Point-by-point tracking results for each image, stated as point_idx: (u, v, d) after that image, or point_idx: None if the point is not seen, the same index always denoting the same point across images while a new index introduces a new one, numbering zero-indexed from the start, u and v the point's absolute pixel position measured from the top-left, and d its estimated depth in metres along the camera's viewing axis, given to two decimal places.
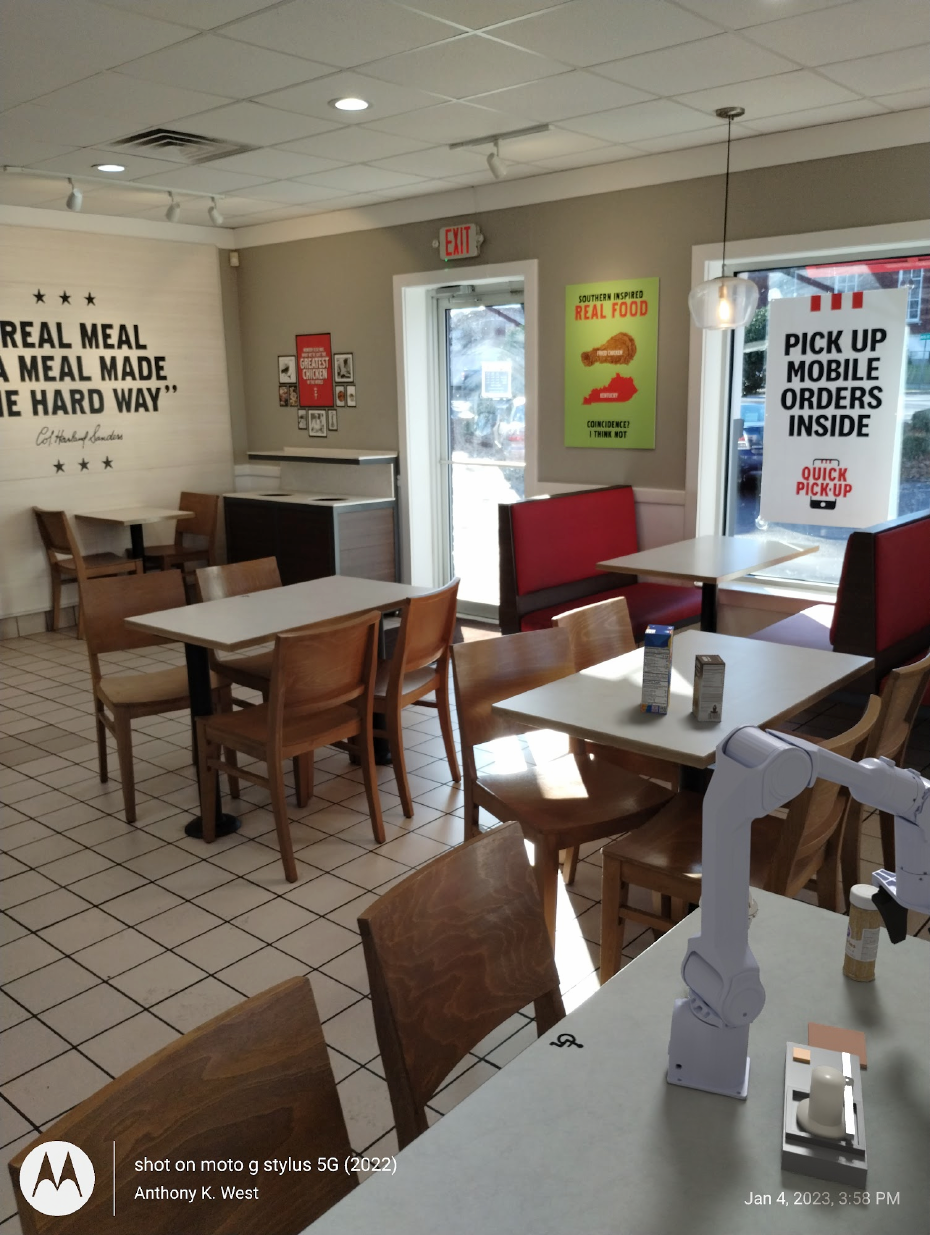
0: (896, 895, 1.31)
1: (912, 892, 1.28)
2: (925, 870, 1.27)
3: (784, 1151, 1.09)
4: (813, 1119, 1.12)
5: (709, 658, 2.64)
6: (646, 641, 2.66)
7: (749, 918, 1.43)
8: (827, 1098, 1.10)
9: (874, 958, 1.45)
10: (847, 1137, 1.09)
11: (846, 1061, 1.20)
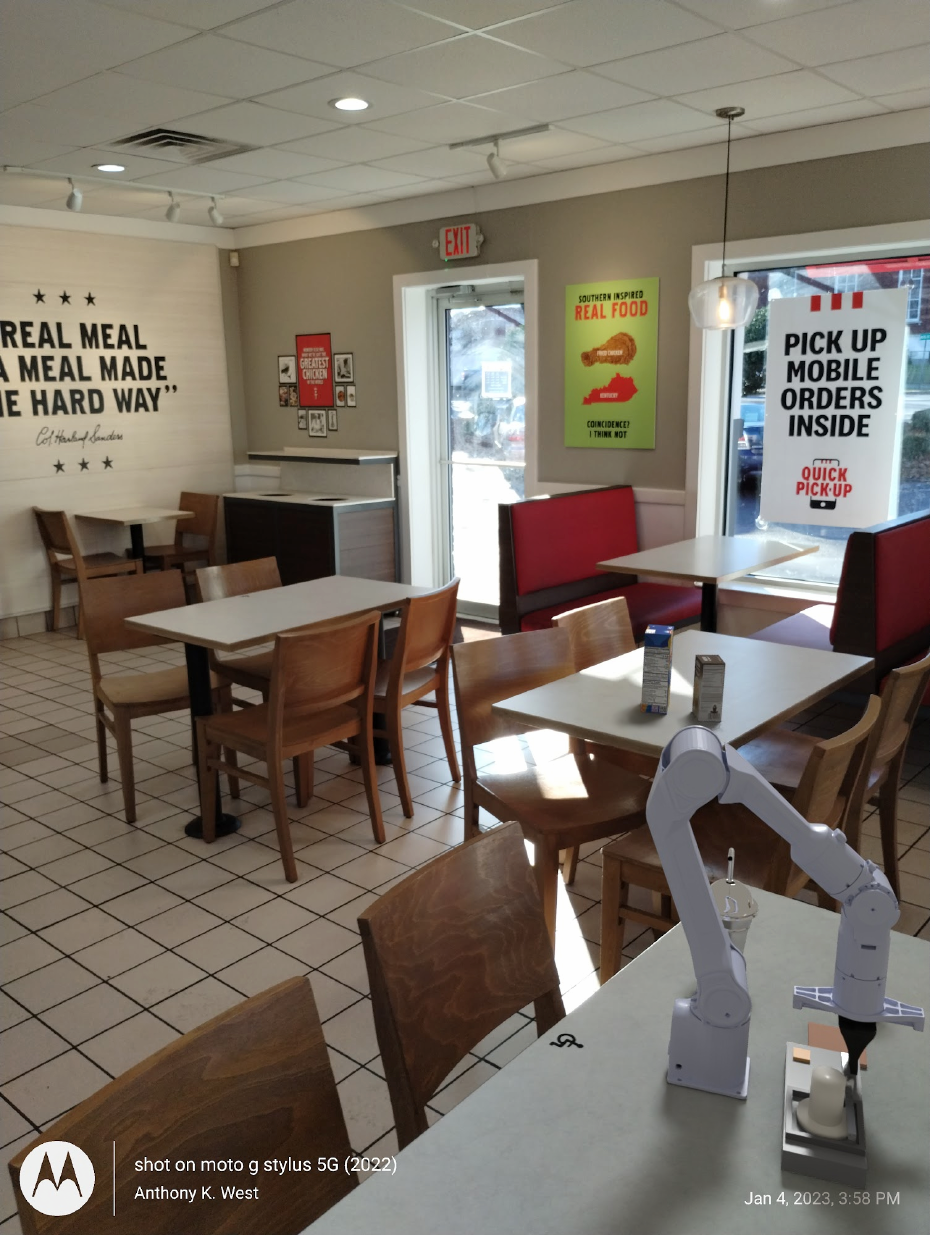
0: (845, 1011, 1.17)
1: (871, 1002, 1.16)
2: (852, 972, 1.16)
3: (784, 1151, 1.09)
4: (813, 1119, 1.12)
5: (709, 658, 2.64)
6: (646, 641, 2.66)
7: (749, 918, 1.43)
8: (828, 1099, 1.10)
9: None
10: (849, 1137, 1.09)
11: (845, 1061, 1.20)
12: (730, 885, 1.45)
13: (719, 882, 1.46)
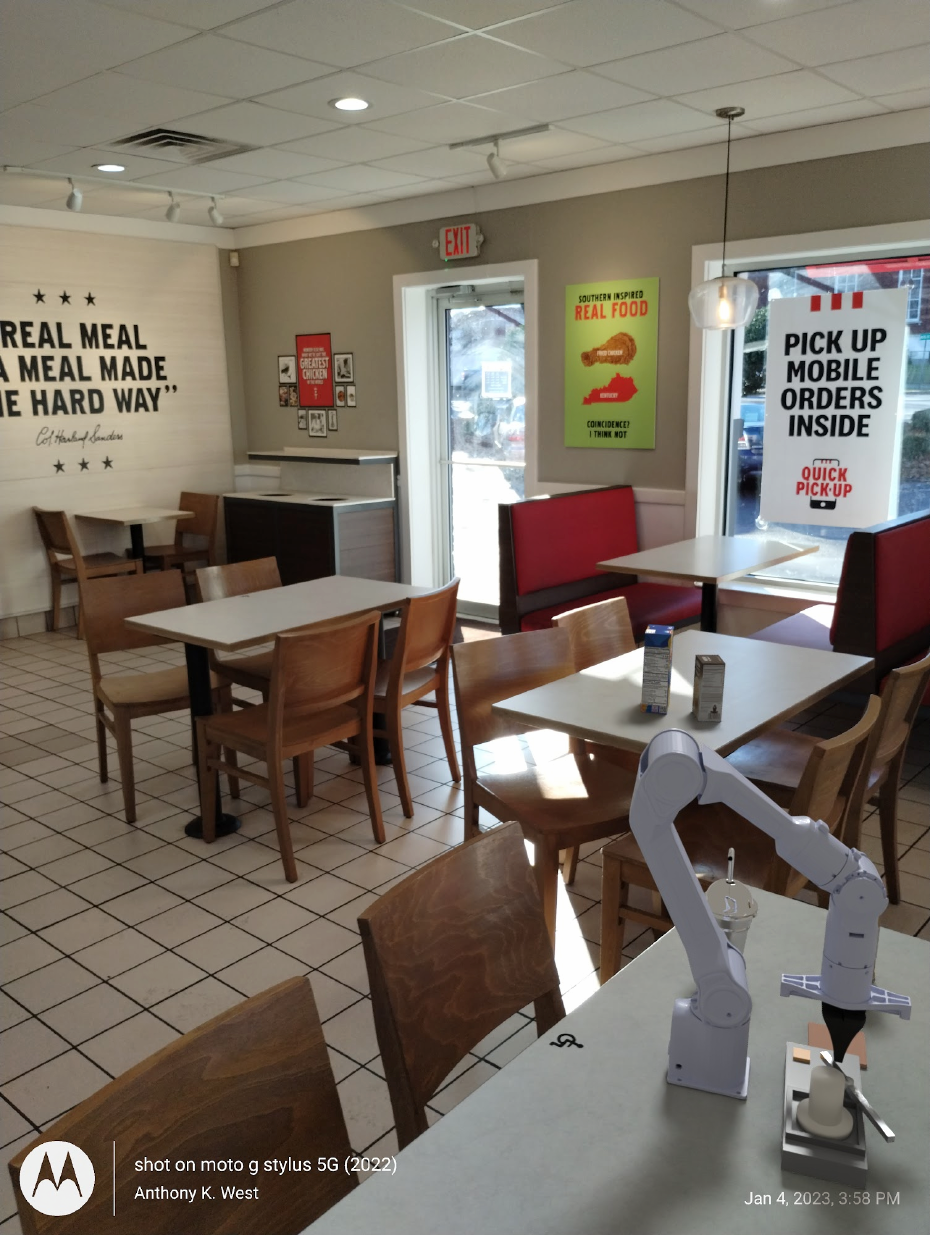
0: (832, 998, 1.18)
1: (858, 990, 1.16)
2: (840, 960, 1.16)
3: (784, 1151, 1.09)
4: (813, 1119, 1.12)
5: (709, 658, 2.64)
6: (646, 641, 2.66)
7: (749, 918, 1.43)
8: (827, 1098, 1.10)
9: None
10: (888, 1141, 1.08)
11: (830, 1060, 1.21)
12: (730, 885, 1.45)
13: (719, 882, 1.46)
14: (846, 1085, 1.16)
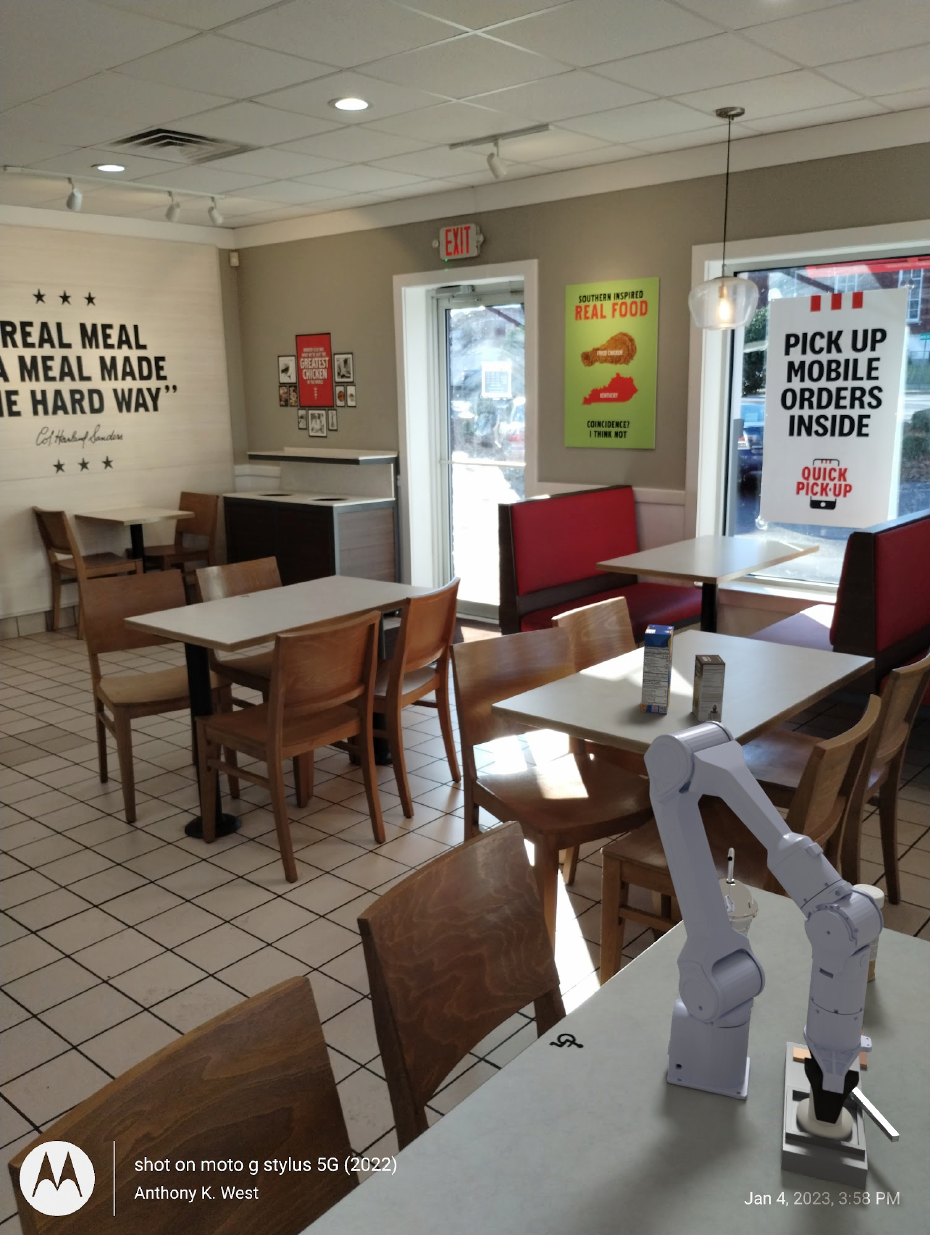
0: None
1: (809, 1023, 1.10)
2: (813, 996, 1.09)
3: (784, 1151, 1.09)
4: (814, 1120, 1.12)
5: (709, 658, 2.64)
6: (646, 641, 2.66)
7: (749, 918, 1.43)
8: None
9: (874, 958, 1.45)
10: (893, 1140, 1.08)
11: None
12: (730, 885, 1.45)
13: (719, 882, 1.46)
14: None
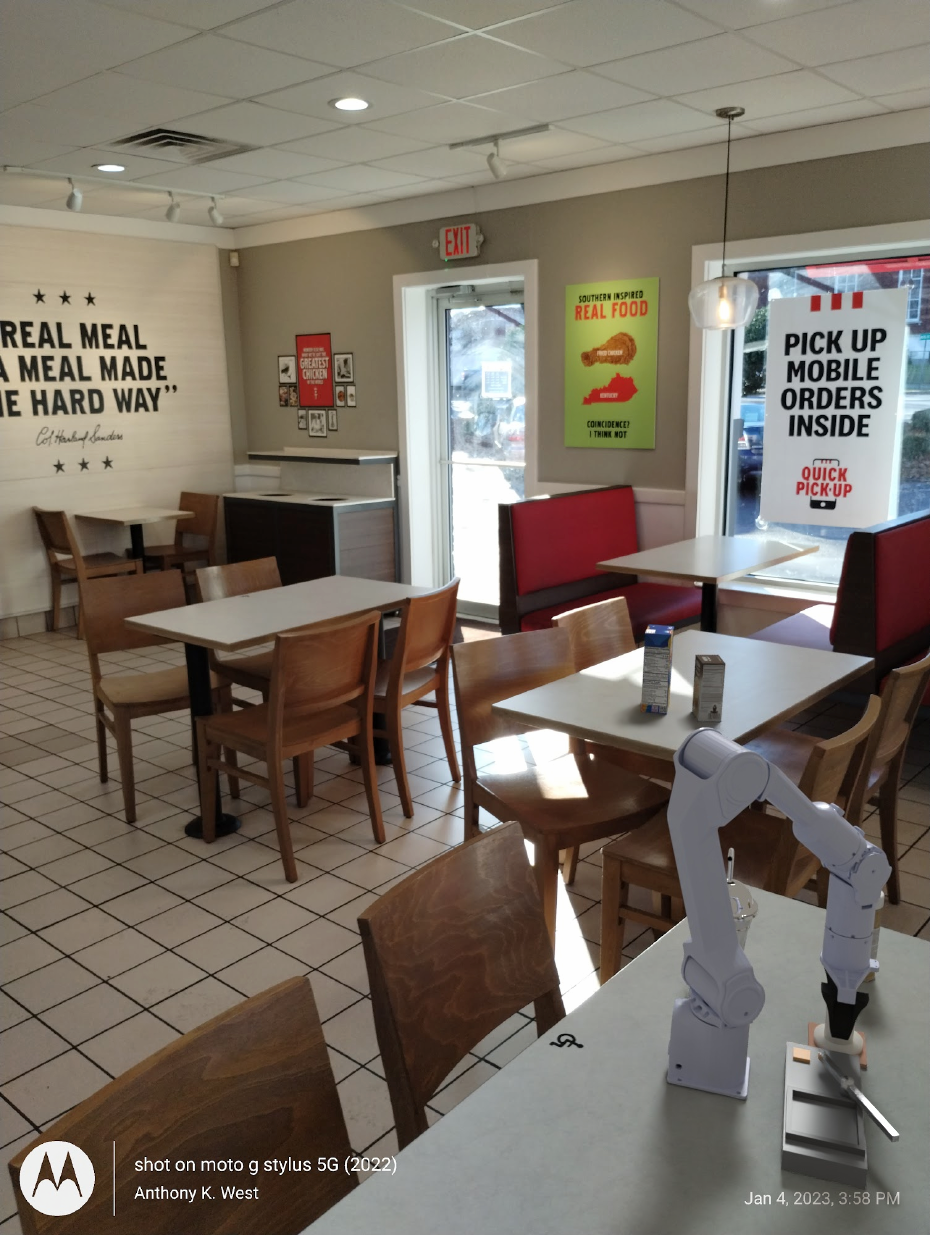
0: None
1: (825, 947, 1.27)
2: (853, 933, 1.24)
3: (784, 1151, 1.09)
4: (829, 1040, 1.29)
5: (709, 658, 2.64)
6: (646, 641, 2.66)
7: (749, 918, 1.43)
8: None
9: (874, 958, 1.45)
10: (893, 1140, 1.08)
11: (829, 1060, 1.21)
12: (730, 885, 1.45)
13: None
14: (846, 1085, 1.16)
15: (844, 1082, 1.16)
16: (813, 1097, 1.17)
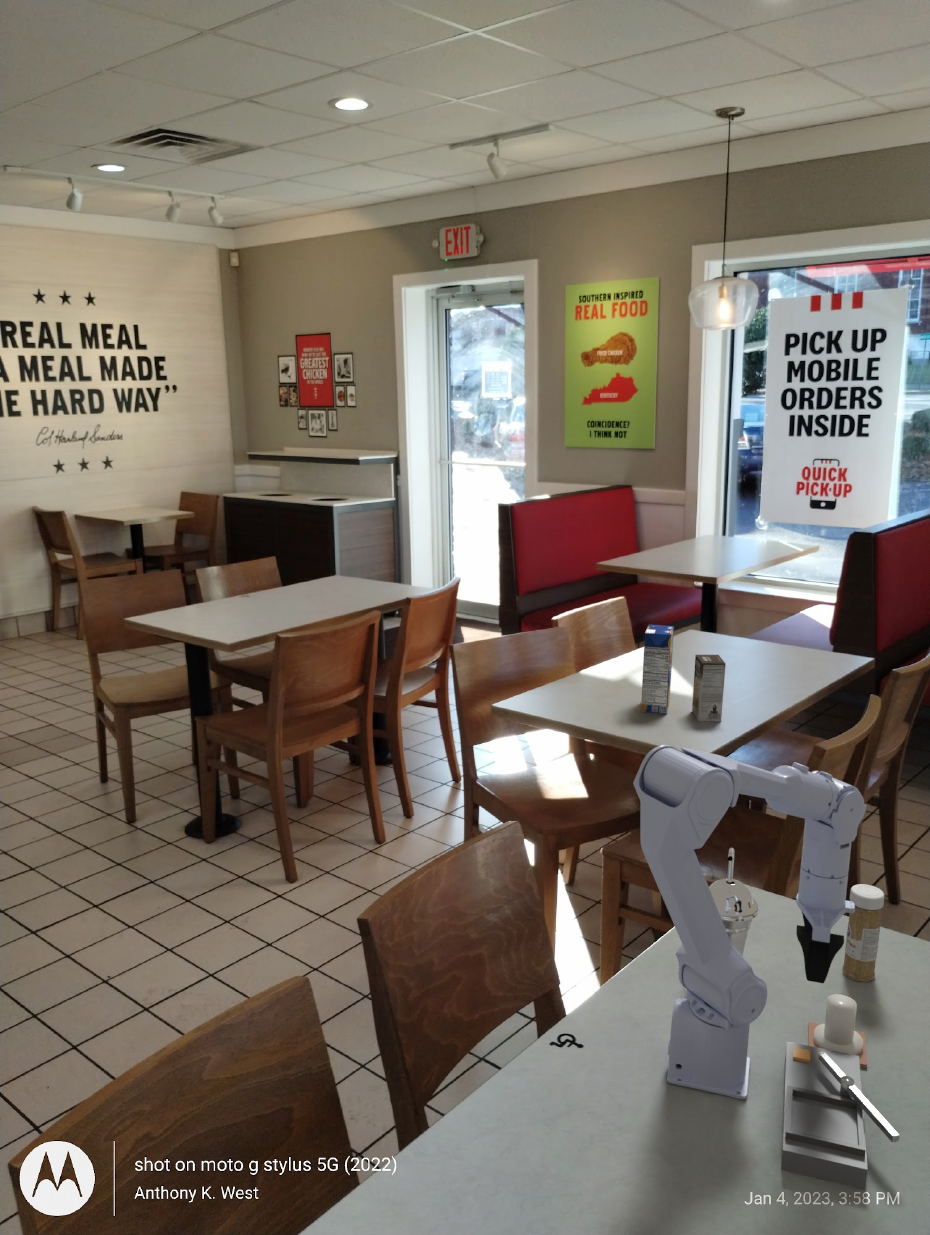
0: None
1: (801, 889, 1.28)
2: (832, 873, 1.25)
3: (784, 1151, 1.09)
4: (829, 1040, 1.29)
5: (709, 658, 2.64)
6: (646, 641, 2.66)
7: (749, 918, 1.43)
8: (842, 1021, 1.28)
9: (874, 958, 1.45)
10: (893, 1140, 1.08)
11: (829, 1060, 1.21)
12: (730, 885, 1.45)
13: (719, 882, 1.46)
14: (846, 1085, 1.16)
15: (844, 1082, 1.16)
16: (813, 1097, 1.17)
